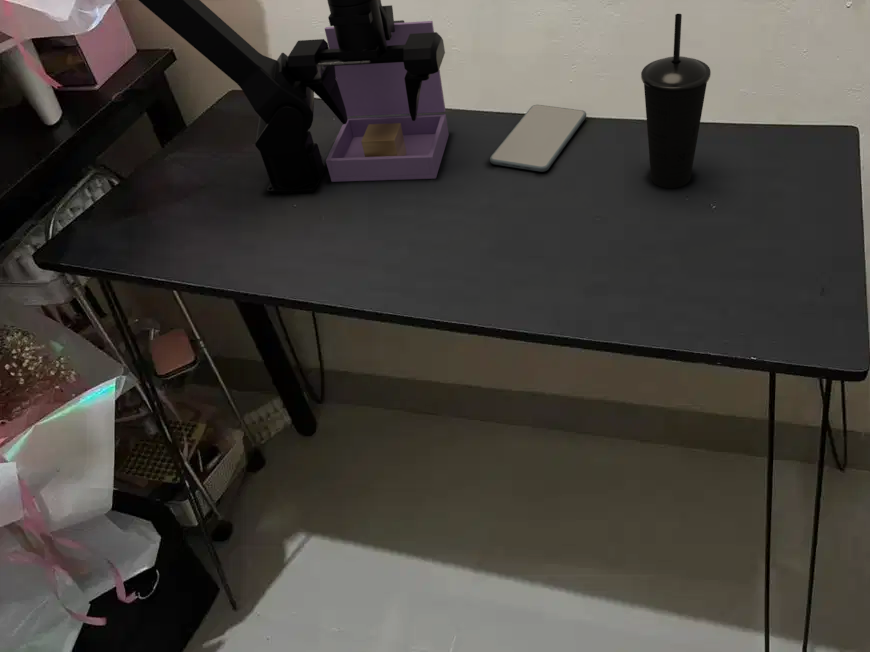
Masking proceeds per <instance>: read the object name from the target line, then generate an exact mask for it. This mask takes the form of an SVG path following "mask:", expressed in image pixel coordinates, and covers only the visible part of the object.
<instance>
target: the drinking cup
mask: <svg viewBox="0 0 870 652" xmlns="http://www.w3.org/2000/svg"><path fill="white" fill-rule="evenodd" d="M682 19H683V18H682V14H681V13H676V14H674V35H673V54H672V55H673V56H668V57H667V56H666V57H663V58H660V59H656V60H653V61H651V62H649V63H648V64H646V65H645V66H644V67H643V68H642V70H641V72H640V79H641V82H642V83H643V88H644V102H645V115H646V116H645V117H646V130H647V143H648V155H649V166H650V167H649V170H650V180H651V181H652V183H653V184H654V185H656V186H658V187H661V188H665V189H676V188H680V187H683V186H685V185H687V184H688V183H689V182H690V181H691V177H692V173H693V167H694V166H693V165H694V161H695V155H696V148H697V143H698V138H699V131H700V126H701V119H702V114H703V109H704V108H703V107H704V102H705V96H706V91H707V84H708V82H709V80H710V78H711V75H712V72H711V68H710V66H709V65H708V64H707V63H705V62H704V61H702V60H701V59H696V58H693V57H687V56H681V39H682V38H681V35H682Z"/></svg>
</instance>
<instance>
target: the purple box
mask: <svg viewBox="0 0 870 652" xmlns="http://www.w3.org/2000/svg"><path fill="white" fill-rule="evenodd" d="M347 119H348V121H347V123H346V124H343V123H342V125H341V127H340V130H339V132H338V133H337V136H336V138H335V140H334V143H333V144H332V147H331V149H330V150H329V153H328V155H327V157H326V160H325V163H326V164H325V165H326V167H327V170H328V175H329V177H330V181H331V183H334V182H335V183H337V182H339V183H340V182H367V181H370V182H371V181H399V180H402V181H403V180H430V179H431V180H433V179H434V180H435V179H437V176H438V174H439V173H438V172H439V169H440V167H441V163H442V159H443V157H444V154H445V149H446V146H447V143H448V139H449V136H450V133H449V127H448V119H447V115H446V113H436V114H433V113H432V114H417V117H416V120H415V121H412V119H411V116H410V115H391V116H389V115H386V116H368V117H367V116H366V117H365V116H361V117H347ZM391 123H401V128H402V133H403V138H404V142H405V147H406V155H405V156H382V157H365V155H364V150H363V146H362V142H361V141H362V139H363V136H364V134H365V132H366V129H367V127H368V125H369V124H391Z"/></svg>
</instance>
